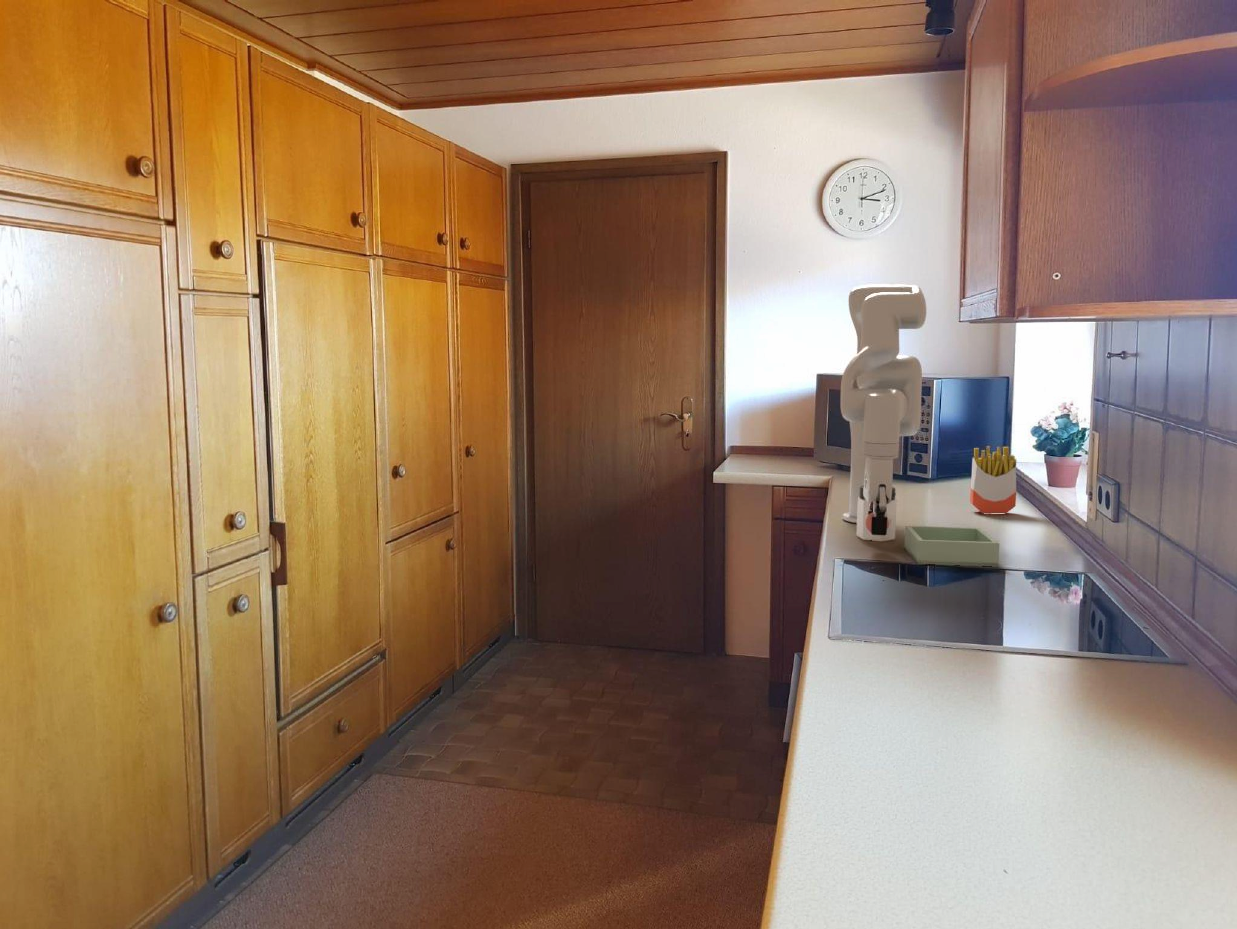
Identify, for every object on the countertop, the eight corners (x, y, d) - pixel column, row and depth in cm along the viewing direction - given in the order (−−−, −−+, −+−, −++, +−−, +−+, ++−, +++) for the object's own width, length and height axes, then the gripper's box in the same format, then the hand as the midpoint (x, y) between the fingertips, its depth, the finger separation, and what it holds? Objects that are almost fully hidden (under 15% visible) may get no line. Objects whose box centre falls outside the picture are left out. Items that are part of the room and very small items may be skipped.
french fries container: (1015, 515, 249) (1019, 448, 247) (972, 513, 251) (976, 447, 249) (1011, 512, 254) (1015, 446, 251) (969, 510, 256) (973, 445, 253)
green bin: (904, 547, 209) (905, 525, 209) (978, 549, 207) (979, 527, 207) (917, 564, 194) (918, 540, 193) (997, 567, 192) (999, 543, 191)
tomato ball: (863, 530, 208) (864, 508, 207) (886, 531, 207) (887, 509, 206) (866, 536, 203) (867, 513, 202) (890, 536, 202) (891, 514, 201)
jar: (876, 543, 214) (878, 491, 212) (849, 536, 221) (851, 486, 219) (902, 538, 219) (904, 488, 217) (875, 532, 226) (877, 483, 224)
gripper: (858, 443, 210) (854, 522, 214) (867, 456, 194) (864, 540, 197) (892, 444, 209) (888, 523, 213) (905, 456, 193) (900, 541, 196)
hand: (876, 530), depth 205 cm, fingers closed on tomato ball, 4 cm apart
